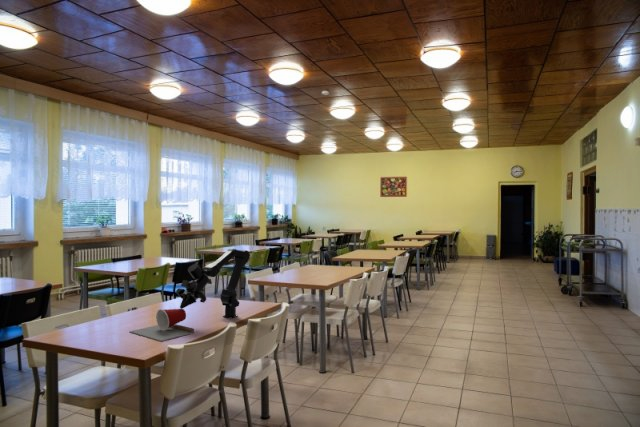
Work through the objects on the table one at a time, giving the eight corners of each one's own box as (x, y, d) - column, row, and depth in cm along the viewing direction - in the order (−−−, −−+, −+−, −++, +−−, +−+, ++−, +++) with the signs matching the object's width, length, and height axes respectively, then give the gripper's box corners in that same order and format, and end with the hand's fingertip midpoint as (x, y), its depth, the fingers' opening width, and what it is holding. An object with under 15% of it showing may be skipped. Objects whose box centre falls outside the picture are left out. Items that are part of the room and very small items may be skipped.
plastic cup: (185, 329, 225) (163, 335, 217) (176, 315, 231) (154, 320, 222) (191, 314, 221) (168, 319, 212) (181, 299, 227) (159, 304, 218)
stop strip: (164, 325, 231) (164, 321, 231) (194, 332, 217) (194, 328, 217) (161, 325, 229) (161, 322, 229) (190, 333, 215) (190, 329, 215)
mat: (159, 325, 230) (159, 324, 230) (192, 333, 214) (192, 332, 214) (129, 332, 216) (129, 331, 216) (161, 341, 201) (161, 340, 201)
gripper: (179, 273, 235) (160, 295, 225) (203, 276, 224) (183, 299, 215) (191, 286, 241) (172, 309, 231) (214, 290, 230) (196, 314, 220)
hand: (180, 308), depth 224 cm, fingers closed, pressing on plastic cup
